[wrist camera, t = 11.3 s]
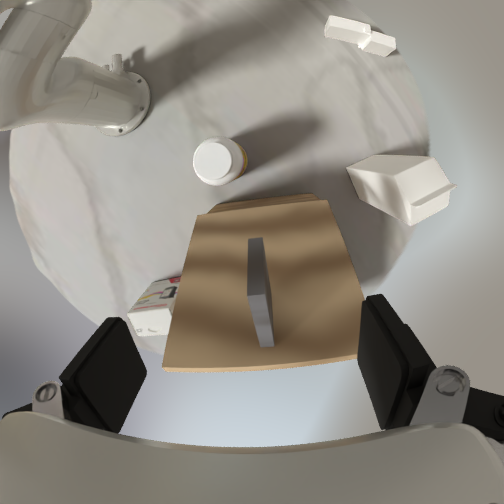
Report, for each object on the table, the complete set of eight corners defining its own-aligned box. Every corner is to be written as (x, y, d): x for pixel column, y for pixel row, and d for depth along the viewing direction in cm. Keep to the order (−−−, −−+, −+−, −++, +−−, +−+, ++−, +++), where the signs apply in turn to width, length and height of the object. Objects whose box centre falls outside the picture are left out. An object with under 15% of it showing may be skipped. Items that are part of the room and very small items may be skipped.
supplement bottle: (248, 179, 44) (241, 188, 32) (209, 181, 44) (187, 191, 32) (247, 139, 42) (238, 132, 30) (207, 142, 42) (183, 137, 30)
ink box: (190, 273, 50) (170, 305, 39) (198, 297, 52) (181, 333, 40) (150, 281, 51) (124, 312, 40) (159, 303, 53) (136, 337, 42)
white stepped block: (305, 33, 35) (309, 19, 29) (343, 6, 32) (351, -8, 26) (368, 90, 38) (381, 83, 32) (403, 59, 34) (417, 51, 29)
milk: (345, 167, 42) (406, 177, 21) (374, 154, 41) (450, 156, 20) (359, 200, 44) (424, 235, 23) (387, 186, 42) (464, 211, 22)
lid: (199, 220, 34) (184, 172, 30) (326, 205, 32) (326, 153, 28) (165, 371, 19) (122, 323, 15) (377, 354, 17) (402, 297, 13)
